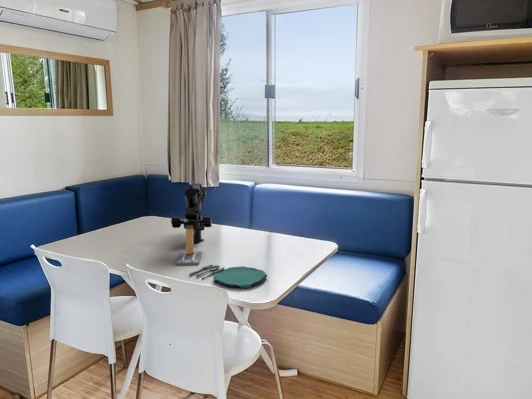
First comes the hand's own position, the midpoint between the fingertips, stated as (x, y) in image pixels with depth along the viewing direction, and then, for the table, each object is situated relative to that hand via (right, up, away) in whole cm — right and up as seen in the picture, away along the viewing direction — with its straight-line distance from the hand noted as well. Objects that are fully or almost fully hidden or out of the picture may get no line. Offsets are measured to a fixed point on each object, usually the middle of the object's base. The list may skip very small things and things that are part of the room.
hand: (190, 237), depth 193 cm
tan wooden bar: (0, -7, -3) cm, 8 cm away
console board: (+1, -9, -6) cm, 11 cm away
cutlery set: (+21, -14, -28) cm, 37 cm away
